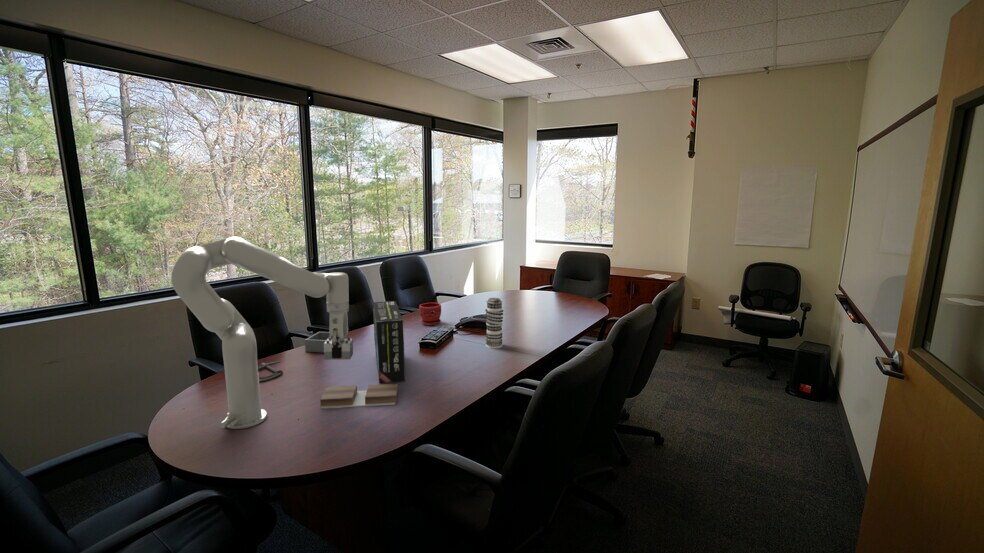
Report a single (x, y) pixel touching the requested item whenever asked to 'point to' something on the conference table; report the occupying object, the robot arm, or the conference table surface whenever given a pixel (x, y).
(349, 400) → the stand
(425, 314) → the plant pot
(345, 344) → the housing
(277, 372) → the c clamp
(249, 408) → the robot arm
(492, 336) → the model tower
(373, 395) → the stand
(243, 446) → the conference table surface
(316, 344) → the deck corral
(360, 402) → the mat
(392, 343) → the router box
